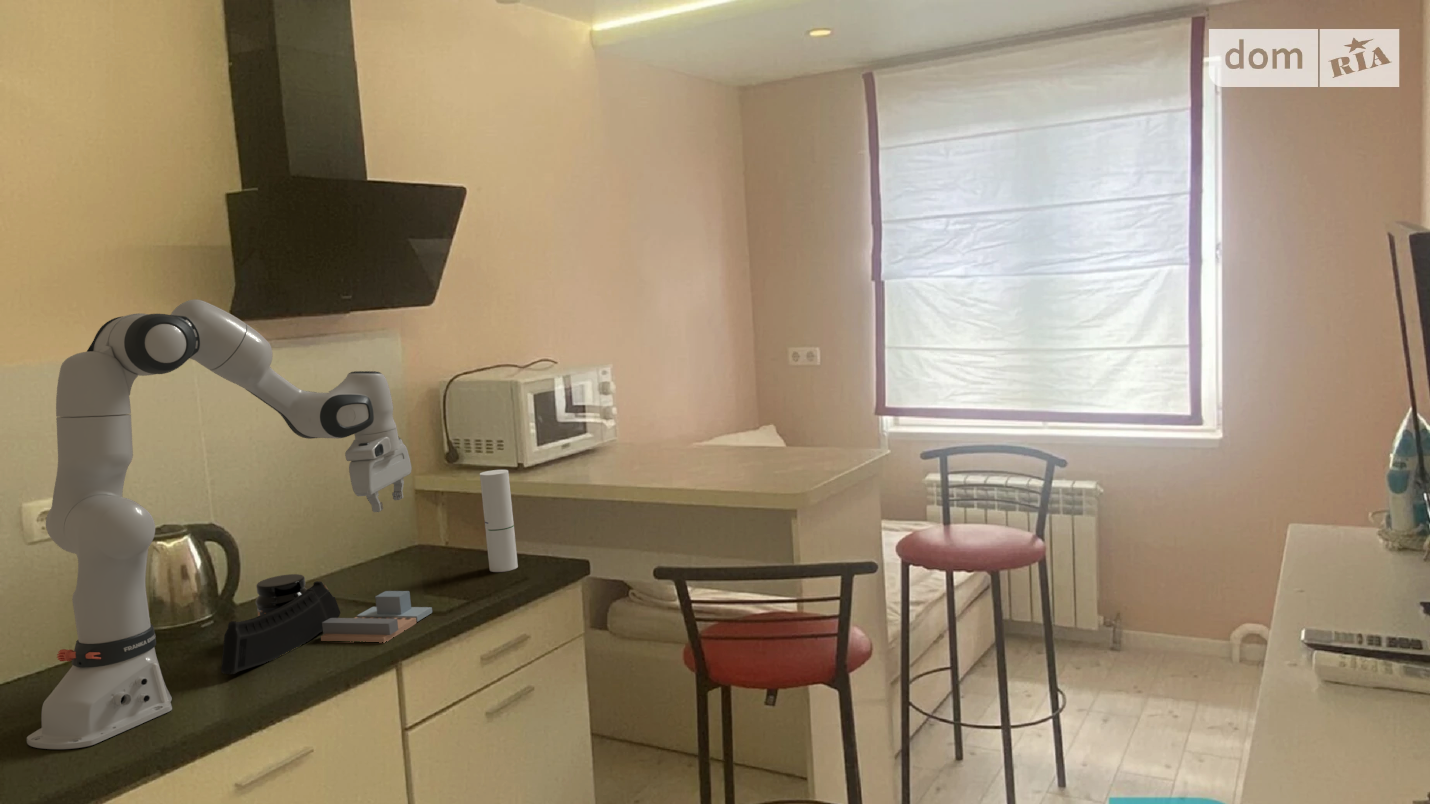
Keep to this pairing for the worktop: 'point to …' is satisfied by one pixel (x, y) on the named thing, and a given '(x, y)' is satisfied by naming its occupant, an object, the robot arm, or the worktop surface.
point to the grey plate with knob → (396, 607)
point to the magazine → (277, 630)
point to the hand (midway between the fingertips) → (388, 505)
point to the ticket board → (371, 637)
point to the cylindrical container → (498, 520)
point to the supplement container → (278, 591)
